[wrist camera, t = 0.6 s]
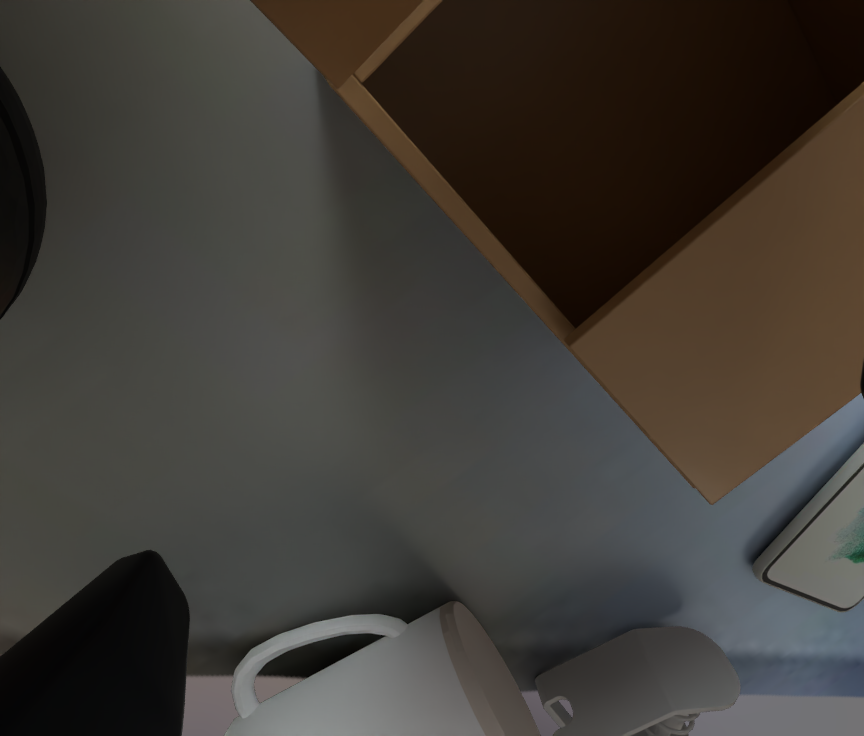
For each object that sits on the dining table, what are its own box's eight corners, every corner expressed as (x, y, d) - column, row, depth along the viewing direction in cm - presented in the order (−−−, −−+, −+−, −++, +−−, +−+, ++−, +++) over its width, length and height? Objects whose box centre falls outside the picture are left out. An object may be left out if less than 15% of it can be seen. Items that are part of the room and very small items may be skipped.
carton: (313, 60, 18) (328, 85, 10) (655, -303, 16) (1033, -650, 8) (570, 347, 24) (711, 509, 16) (845, 113, 21) (1172, 163, 13)
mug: (578, 872, 21) (306, 1031, 21) (554, 744, 30) (363, 857, 30) (405, 567, 22) (155, 718, 23) (431, 532, 31) (251, 640, 31)
